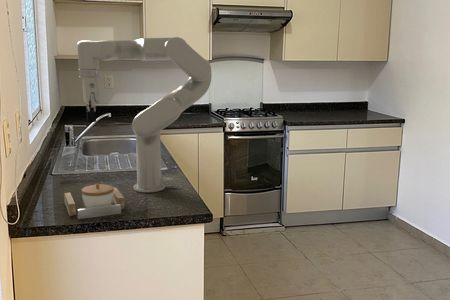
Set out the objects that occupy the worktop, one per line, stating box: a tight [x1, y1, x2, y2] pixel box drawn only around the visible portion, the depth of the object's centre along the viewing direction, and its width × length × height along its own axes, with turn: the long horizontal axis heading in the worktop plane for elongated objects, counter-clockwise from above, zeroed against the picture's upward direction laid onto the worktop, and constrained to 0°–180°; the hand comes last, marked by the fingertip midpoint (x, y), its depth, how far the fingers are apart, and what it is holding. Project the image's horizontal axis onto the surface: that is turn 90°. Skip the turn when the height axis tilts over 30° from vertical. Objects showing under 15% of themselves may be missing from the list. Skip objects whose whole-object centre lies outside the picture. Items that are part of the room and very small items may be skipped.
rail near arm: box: [112, 187, 125, 210], centre depth 176 cm, size 2×14×4 cm, turn 24°
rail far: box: [63, 192, 77, 217], centre depth 170 cm, size 2×14×4 cm, turn 24°
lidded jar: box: [81, 183, 115, 208], centre depth 169 cm, size 11×11×9 cm
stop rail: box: [76, 203, 122, 220], centre depth 163 cm, size 14×2×3 cm, turn 114°
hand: (91, 121), depth 189 cm, fingers closed
